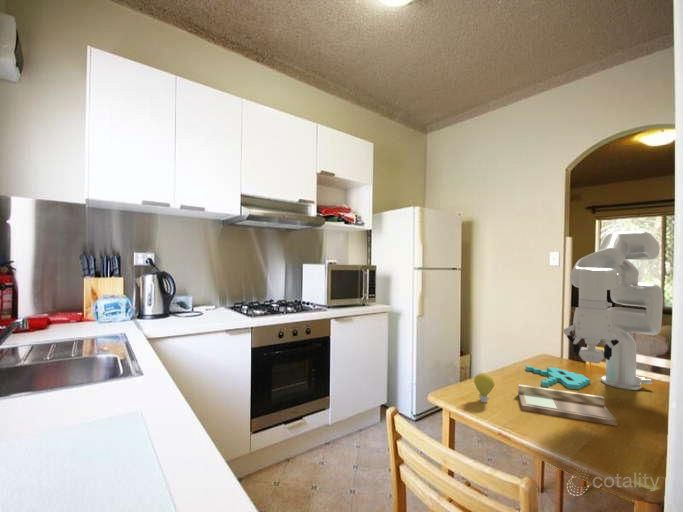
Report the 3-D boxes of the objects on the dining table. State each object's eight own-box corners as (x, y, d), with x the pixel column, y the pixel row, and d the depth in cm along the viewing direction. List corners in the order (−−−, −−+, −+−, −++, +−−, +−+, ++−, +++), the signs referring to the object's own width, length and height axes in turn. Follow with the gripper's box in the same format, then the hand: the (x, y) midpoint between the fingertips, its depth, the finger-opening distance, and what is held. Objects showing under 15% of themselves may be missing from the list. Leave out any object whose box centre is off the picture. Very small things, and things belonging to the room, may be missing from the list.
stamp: (580, 356, 117) (580, 332, 117) (604, 360, 112) (604, 335, 112) (578, 362, 110) (578, 337, 110) (603, 366, 105) (604, 340, 105)
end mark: (551, 397, 118) (551, 397, 118) (557, 409, 110) (557, 408, 110) (523, 393, 122) (523, 392, 122) (526, 404, 113) (526, 403, 113)
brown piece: (602, 407, 114) (602, 396, 114) (617, 425, 102) (617, 412, 102) (518, 394, 124) (518, 384, 124) (522, 409, 112) (522, 398, 112)
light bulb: (486, 406, 114) (486, 378, 114) (469, 399, 120) (470, 372, 120) (498, 402, 118) (498, 374, 118) (481, 395, 123) (481, 368, 123)
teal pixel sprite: (543, 387, 132) (599, 392, 128) (543, 382, 132) (599, 386, 128) (525, 370, 152) (574, 373, 148) (525, 365, 152) (574, 369, 148)
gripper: (620, 305, 111) (619, 357, 111) (559, 302, 118) (558, 350, 118) (629, 308, 104) (628, 363, 104) (564, 304, 111) (563, 356, 111)
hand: (591, 356), depth 111 cm, fingers closed on stamp, 7 cm apart
